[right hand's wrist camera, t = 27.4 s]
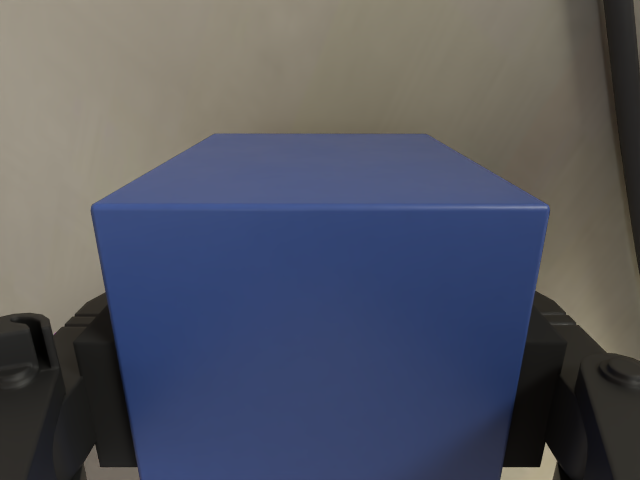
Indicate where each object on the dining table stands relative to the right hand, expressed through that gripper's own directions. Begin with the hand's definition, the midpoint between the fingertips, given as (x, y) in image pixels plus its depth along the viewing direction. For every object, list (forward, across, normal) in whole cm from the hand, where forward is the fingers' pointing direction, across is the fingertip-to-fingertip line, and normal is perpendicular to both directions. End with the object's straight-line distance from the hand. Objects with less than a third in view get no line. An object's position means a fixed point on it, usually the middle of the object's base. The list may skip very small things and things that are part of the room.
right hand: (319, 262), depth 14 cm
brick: (+1, 0, 0) cm, 1 cm away
